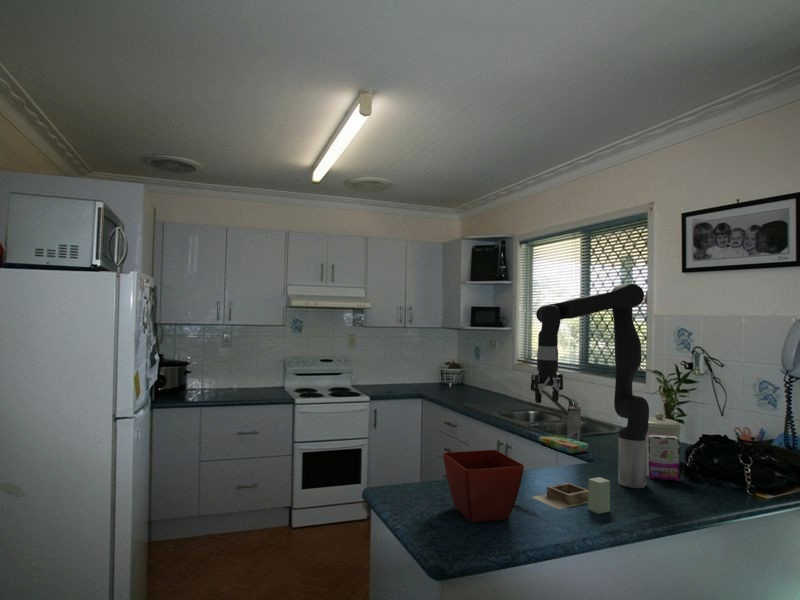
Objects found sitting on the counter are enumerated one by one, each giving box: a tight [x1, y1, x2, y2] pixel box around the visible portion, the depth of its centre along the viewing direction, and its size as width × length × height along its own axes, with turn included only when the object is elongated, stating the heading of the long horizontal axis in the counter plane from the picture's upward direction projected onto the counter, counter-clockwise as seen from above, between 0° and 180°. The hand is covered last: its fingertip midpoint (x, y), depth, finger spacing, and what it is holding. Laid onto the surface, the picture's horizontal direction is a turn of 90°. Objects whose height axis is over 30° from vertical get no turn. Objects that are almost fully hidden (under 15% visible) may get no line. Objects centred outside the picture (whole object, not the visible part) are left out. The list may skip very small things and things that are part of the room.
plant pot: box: [442, 449, 525, 524], centre depth 155 cm, size 19×19×17 cm
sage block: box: [587, 476, 611, 515], centre depth 157 cm, size 5×4×10 cm
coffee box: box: [566, 405, 582, 442], centre depth 262 cm, size 9×6×16 cm
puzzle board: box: [531, 482, 588, 510], centre depth 167 cm, size 22×12×4 cm, turn 120°
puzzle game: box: [538, 434, 589, 454], centre depth 241 cm, size 12×5×20 cm
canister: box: [647, 412, 683, 439], centre depth 224 cm, size 18×18×21 cm
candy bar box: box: [646, 434, 681, 482], centre depth 197 cm, size 11×5×16 cm, turn 76°
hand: (546, 402), depth 186 cm, fingers open, 8 cm apart
